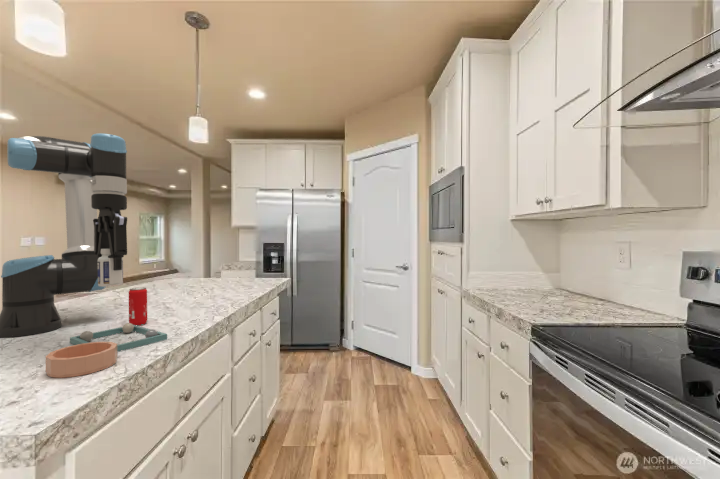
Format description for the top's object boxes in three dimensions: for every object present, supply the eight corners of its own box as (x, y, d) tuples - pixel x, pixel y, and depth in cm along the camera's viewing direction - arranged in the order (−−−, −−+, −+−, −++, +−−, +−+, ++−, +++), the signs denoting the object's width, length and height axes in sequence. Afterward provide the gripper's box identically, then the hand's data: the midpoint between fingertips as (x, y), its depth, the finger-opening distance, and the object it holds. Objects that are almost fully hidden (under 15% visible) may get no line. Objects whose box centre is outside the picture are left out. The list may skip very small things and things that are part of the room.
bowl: (38, 370, 74) (38, 352, 74) (103, 354, 84) (103, 338, 84) (58, 382, 67) (58, 363, 67) (126, 363, 77) (125, 347, 77)
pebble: (120, 333, 102) (120, 323, 102) (131, 331, 105) (131, 321, 105) (124, 334, 101) (124, 324, 101) (136, 332, 103) (135, 322, 103)
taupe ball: (77, 342, 94) (77, 331, 94) (90, 339, 96) (90, 329, 96) (82, 344, 92) (81, 333, 92) (95, 341, 94) (95, 330, 94)
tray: (69, 342, 93) (69, 337, 93) (133, 329, 107) (133, 324, 107) (100, 356, 82) (100, 349, 82) (167, 339, 96) (167, 334, 96)
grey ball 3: (143, 340, 95) (143, 330, 95) (154, 338, 97) (154, 327, 97) (148, 342, 93) (148, 331, 93) (159, 339, 96) (159, 329, 96)
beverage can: (130, 323, 115) (130, 288, 115) (148, 321, 117) (148, 287, 117) (127, 326, 110) (127, 290, 110) (146, 325, 112) (145, 289, 112)
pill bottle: (128, 284, 91) (127, 248, 91) (112, 286, 86) (111, 248, 86) (109, 284, 92) (109, 248, 92) (92, 286, 86) (91, 249, 86)
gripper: (77, 195, 91) (78, 282, 90) (109, 189, 81) (110, 286, 81) (109, 198, 97) (110, 279, 97) (142, 193, 87) (143, 282, 87)
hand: (110, 282), depth 89 cm, fingers closed on pill bottle, 5 cm apart
